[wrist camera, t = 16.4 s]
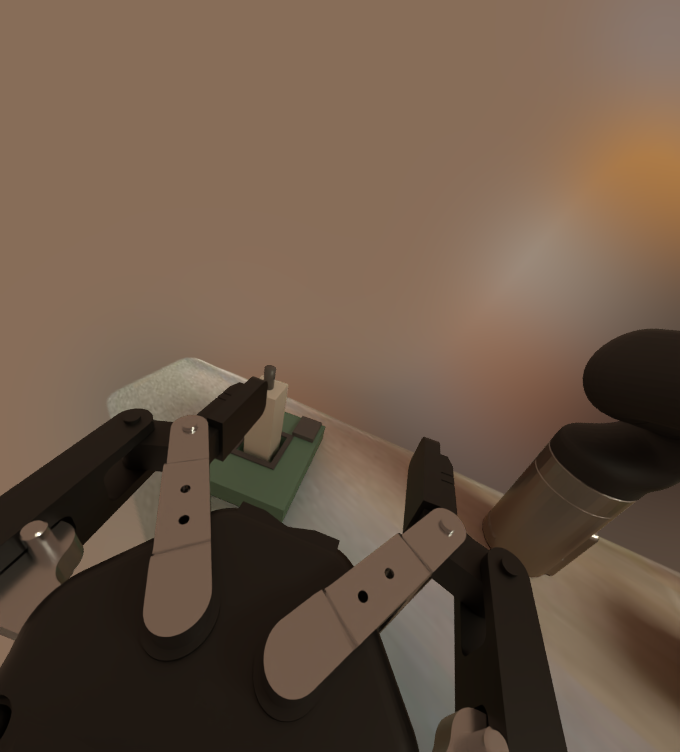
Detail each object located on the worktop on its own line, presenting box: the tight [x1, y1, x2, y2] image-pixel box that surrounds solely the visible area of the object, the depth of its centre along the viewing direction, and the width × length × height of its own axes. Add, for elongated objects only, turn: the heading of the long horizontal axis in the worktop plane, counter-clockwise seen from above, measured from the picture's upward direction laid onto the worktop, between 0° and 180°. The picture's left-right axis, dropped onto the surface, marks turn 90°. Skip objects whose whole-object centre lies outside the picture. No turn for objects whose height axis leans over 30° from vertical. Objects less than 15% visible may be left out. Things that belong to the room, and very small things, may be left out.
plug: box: [244, 365, 288, 463], centre depth 41 cm, size 4×4×17 cm
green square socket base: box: [210, 412, 325, 522], centre depth 45 cm, size 15×17×4 cm
